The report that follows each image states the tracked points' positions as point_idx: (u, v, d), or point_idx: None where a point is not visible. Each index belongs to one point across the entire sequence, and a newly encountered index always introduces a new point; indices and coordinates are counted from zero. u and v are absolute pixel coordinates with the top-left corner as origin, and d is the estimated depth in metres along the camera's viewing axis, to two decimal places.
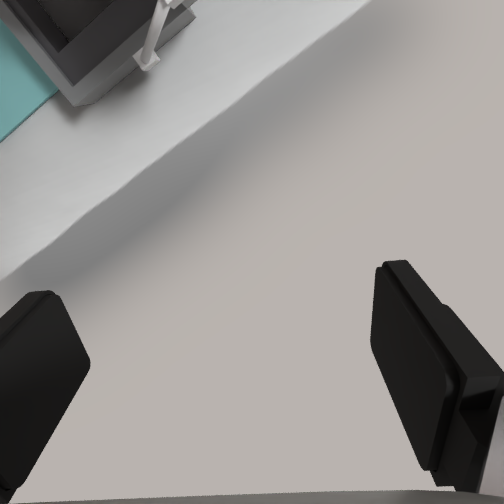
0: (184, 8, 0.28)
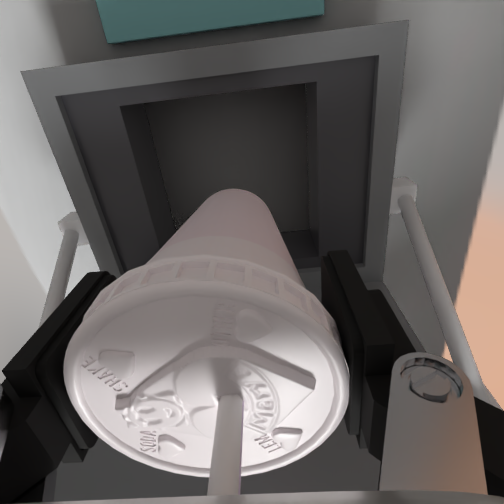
0: None
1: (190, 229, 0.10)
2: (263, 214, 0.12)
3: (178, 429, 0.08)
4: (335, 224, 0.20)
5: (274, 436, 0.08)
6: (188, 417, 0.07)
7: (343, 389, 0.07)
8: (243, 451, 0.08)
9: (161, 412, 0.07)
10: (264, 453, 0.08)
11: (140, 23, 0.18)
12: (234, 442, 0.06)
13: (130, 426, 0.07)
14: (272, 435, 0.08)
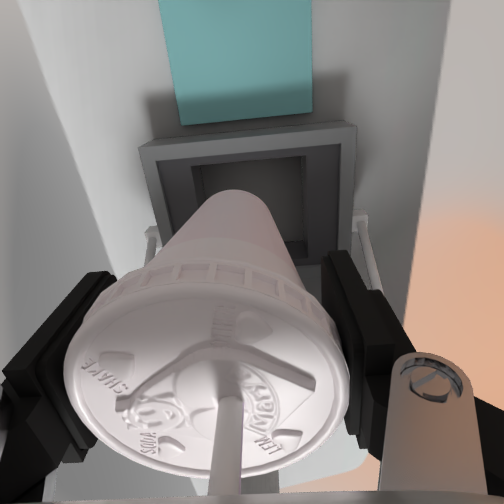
0: None
1: (190, 230, 0.10)
2: (263, 215, 0.12)
3: (178, 431, 0.08)
4: (318, 237, 0.31)
5: (274, 438, 0.08)
6: (188, 419, 0.07)
7: (343, 391, 0.07)
8: (243, 453, 0.08)
9: (161, 414, 0.07)
10: (264, 455, 0.08)
11: (202, 115, 0.30)
12: (234, 444, 0.06)
13: (130, 428, 0.07)
14: (272, 437, 0.08)
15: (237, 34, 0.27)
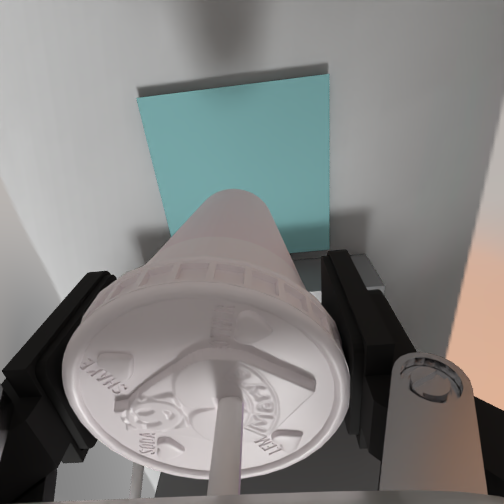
0: None
1: (189, 230, 0.09)
2: (263, 214, 0.12)
3: (177, 431, 0.07)
4: None
5: (274, 438, 0.08)
6: (187, 419, 0.07)
7: (344, 391, 0.07)
8: (243, 453, 0.08)
9: (160, 414, 0.07)
10: (264, 455, 0.08)
11: None
12: (234, 445, 0.06)
13: (129, 428, 0.07)
14: (272, 437, 0.08)
15: (241, 175, 0.23)
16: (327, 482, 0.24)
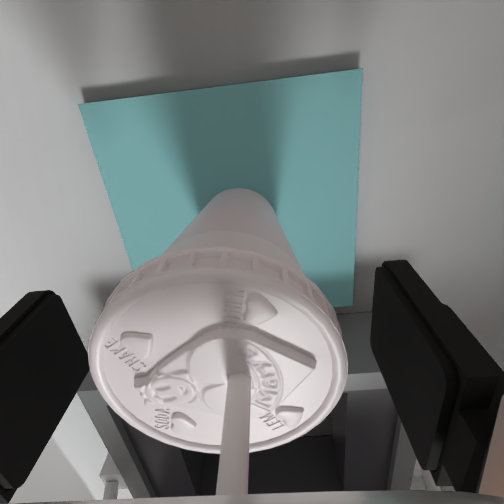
0: None
1: (200, 225, 0.10)
2: (267, 212, 0.13)
3: (190, 406, 0.08)
4: (360, 474, 0.21)
5: (278, 414, 0.08)
6: (200, 395, 0.08)
7: (341, 369, 0.08)
8: None
9: (175, 390, 0.08)
10: (268, 430, 0.09)
11: None
12: (243, 413, 0.07)
13: (147, 403, 0.08)
14: (276, 413, 0.08)
15: None
16: None
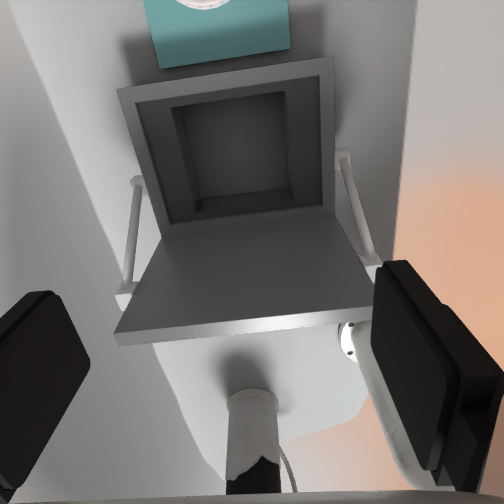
0: (162, 235, 0.34)
1: None
2: None
3: None
4: (302, 178, 0.31)
5: None
6: None
7: None
8: None
9: None
10: None
11: (180, 56, 0.29)
12: None
13: None
14: None
15: None
16: (293, 245, 0.29)
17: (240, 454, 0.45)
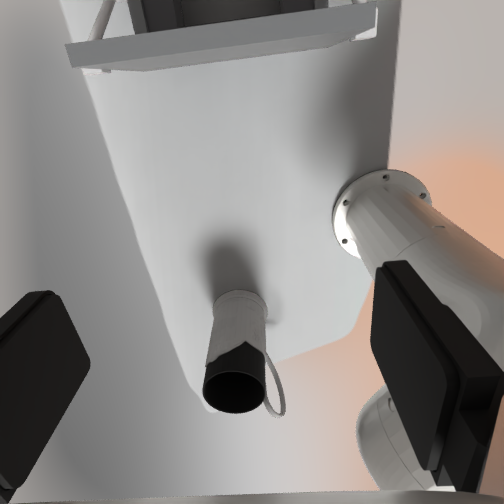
0: None
1: None
2: None
3: None
4: None
5: None
6: None
7: None
8: None
9: None
10: None
11: None
12: None
13: None
14: None
15: None
16: None
17: (222, 340, 0.41)
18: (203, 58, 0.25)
